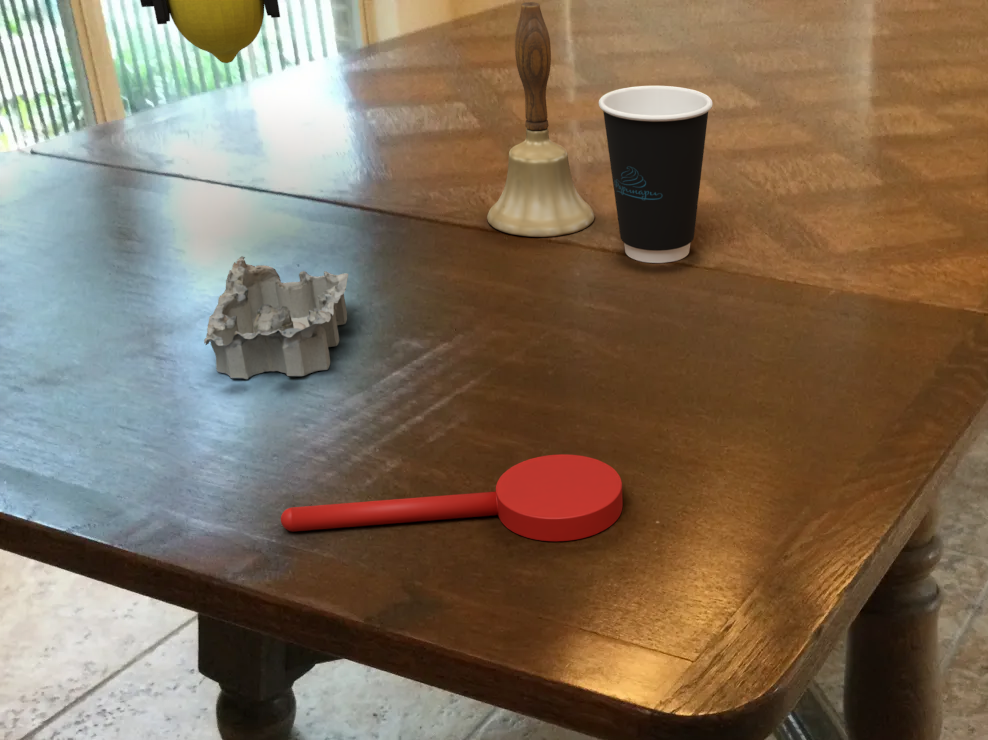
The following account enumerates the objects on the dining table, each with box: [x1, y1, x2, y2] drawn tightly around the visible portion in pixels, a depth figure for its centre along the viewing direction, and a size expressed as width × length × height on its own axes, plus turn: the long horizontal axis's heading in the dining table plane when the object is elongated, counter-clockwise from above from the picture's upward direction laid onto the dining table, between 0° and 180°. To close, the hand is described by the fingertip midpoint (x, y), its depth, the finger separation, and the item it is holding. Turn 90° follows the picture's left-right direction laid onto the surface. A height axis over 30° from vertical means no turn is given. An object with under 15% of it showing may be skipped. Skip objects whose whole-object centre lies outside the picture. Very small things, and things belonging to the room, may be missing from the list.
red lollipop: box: [280, 453, 624, 543], centre depth 68 cm, size 17×6×1 cm, turn 100°
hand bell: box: [486, 1, 595, 238], centre depth 100 cm, size 8×8×16 cm
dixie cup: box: [598, 85, 713, 264], centre depth 97 cm, size 8×8×11 cm
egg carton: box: [203, 256, 349, 380], centre depth 84 cm, size 11×8×4 cm
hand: (218, 12), depth 80 cm, fingers closed on lemon, 5 cm apart
